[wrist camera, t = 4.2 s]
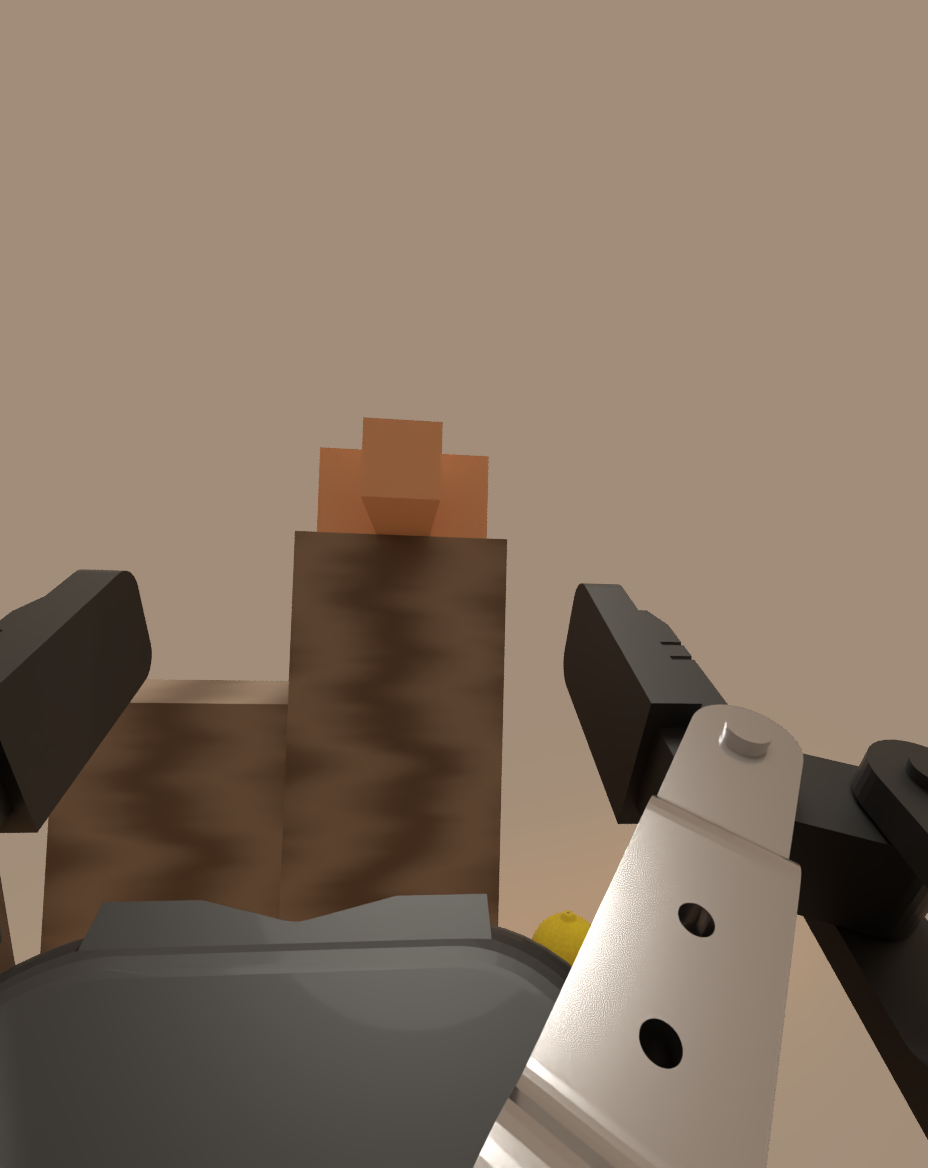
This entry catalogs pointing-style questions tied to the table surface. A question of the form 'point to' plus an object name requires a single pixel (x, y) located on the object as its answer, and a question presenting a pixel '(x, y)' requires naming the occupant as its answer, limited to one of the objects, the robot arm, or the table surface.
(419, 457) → the orange block
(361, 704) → the step stand
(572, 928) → the lemon
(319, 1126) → the robot arm
